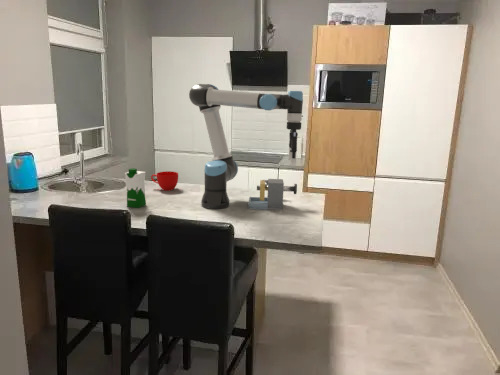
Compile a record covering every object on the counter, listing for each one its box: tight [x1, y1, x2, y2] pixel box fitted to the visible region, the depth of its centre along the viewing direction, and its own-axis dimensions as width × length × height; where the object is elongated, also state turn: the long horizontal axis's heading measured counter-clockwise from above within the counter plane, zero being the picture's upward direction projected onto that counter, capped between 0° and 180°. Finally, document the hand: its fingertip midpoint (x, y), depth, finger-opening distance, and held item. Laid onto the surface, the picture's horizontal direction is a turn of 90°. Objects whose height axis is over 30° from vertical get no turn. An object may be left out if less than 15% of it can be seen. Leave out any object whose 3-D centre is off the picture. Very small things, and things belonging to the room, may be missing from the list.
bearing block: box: [266, 178, 285, 211], centre depth 215 cm, size 8×14×14 cm, turn 178°
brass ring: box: [259, 179, 266, 201], centre depth 215 cm, size 2×9×9 cm, turn 178°
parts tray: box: [248, 196, 268, 210], centre depth 217 cm, size 10×13×3 cm
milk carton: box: [124, 167, 147, 209], centre depth 208 cm, size 9×9×20 cm
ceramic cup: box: [150, 171, 179, 191], centre depth 245 cm, size 13×17×10 cm
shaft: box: [256, 183, 298, 195], centre depth 214 cm, size 21×6×6 cm, turn 88°
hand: (291, 162), depth 211 cm, fingers open, 13 cm apart
